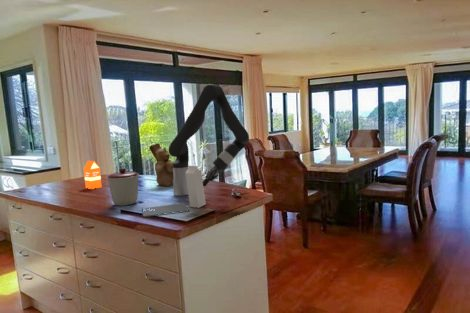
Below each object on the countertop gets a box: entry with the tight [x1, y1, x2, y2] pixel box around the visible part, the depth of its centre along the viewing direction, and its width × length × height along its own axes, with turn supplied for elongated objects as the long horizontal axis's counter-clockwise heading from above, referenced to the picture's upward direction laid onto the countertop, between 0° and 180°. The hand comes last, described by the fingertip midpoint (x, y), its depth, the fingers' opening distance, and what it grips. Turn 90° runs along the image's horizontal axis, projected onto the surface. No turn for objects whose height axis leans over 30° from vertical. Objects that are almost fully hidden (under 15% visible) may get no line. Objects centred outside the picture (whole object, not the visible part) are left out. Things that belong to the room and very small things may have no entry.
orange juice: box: [83, 160, 103, 190], centre depth 259 cm, size 8×9×20 cm
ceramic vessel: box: [148, 142, 175, 187], centre depth 255 cm, size 16×22×30 cm
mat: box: [141, 202, 190, 218], centre depth 183 cm, size 23×16×1 cm
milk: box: [185, 165, 207, 209], centre depth 186 cm, size 6×6×22 cm
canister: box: [105, 167, 140, 207], centre depth 202 cm, size 18×18×21 cm
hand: (202, 185), depth 188 cm, fingers closed
